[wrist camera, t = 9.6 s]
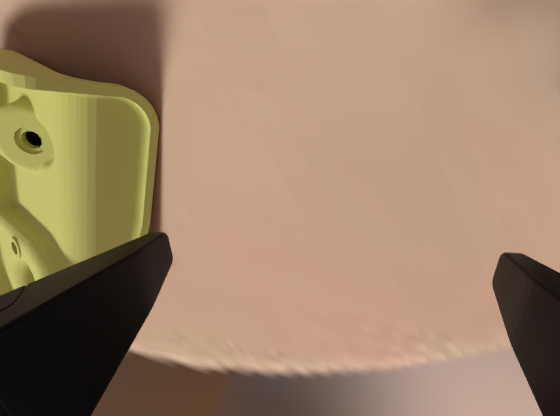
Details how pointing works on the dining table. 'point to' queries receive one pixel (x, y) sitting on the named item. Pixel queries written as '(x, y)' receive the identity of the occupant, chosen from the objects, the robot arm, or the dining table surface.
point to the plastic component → (69, 169)
